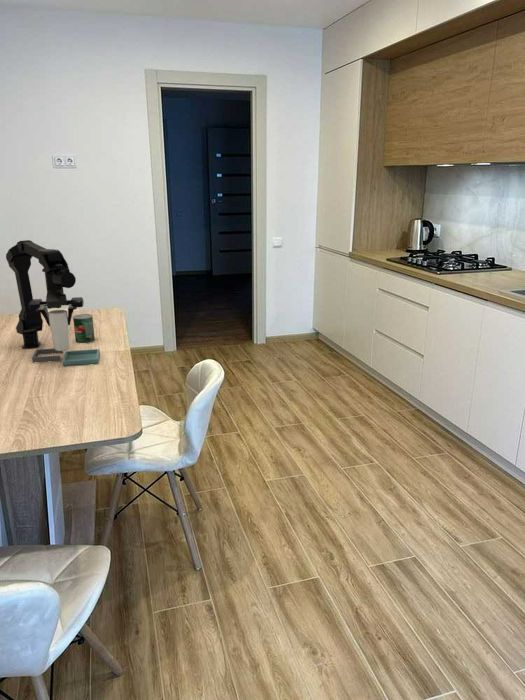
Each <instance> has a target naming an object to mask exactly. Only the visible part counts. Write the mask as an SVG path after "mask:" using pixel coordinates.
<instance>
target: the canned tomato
mask: <svg viewBox="0 0 525 700" xmlns="http://www.w3.org/2000/svg"><path fill="white" fill-rule="evenodd" d="M72 320H73V329H74V331H73V332H74V338H75V343H77V344H80V343H86V344H91V343H93V341H94V342H95V341H96V338H95V330H94V318H93V314H87V313H80V314H75V315H72ZM90 342H91V343H90Z"/></svg>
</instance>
